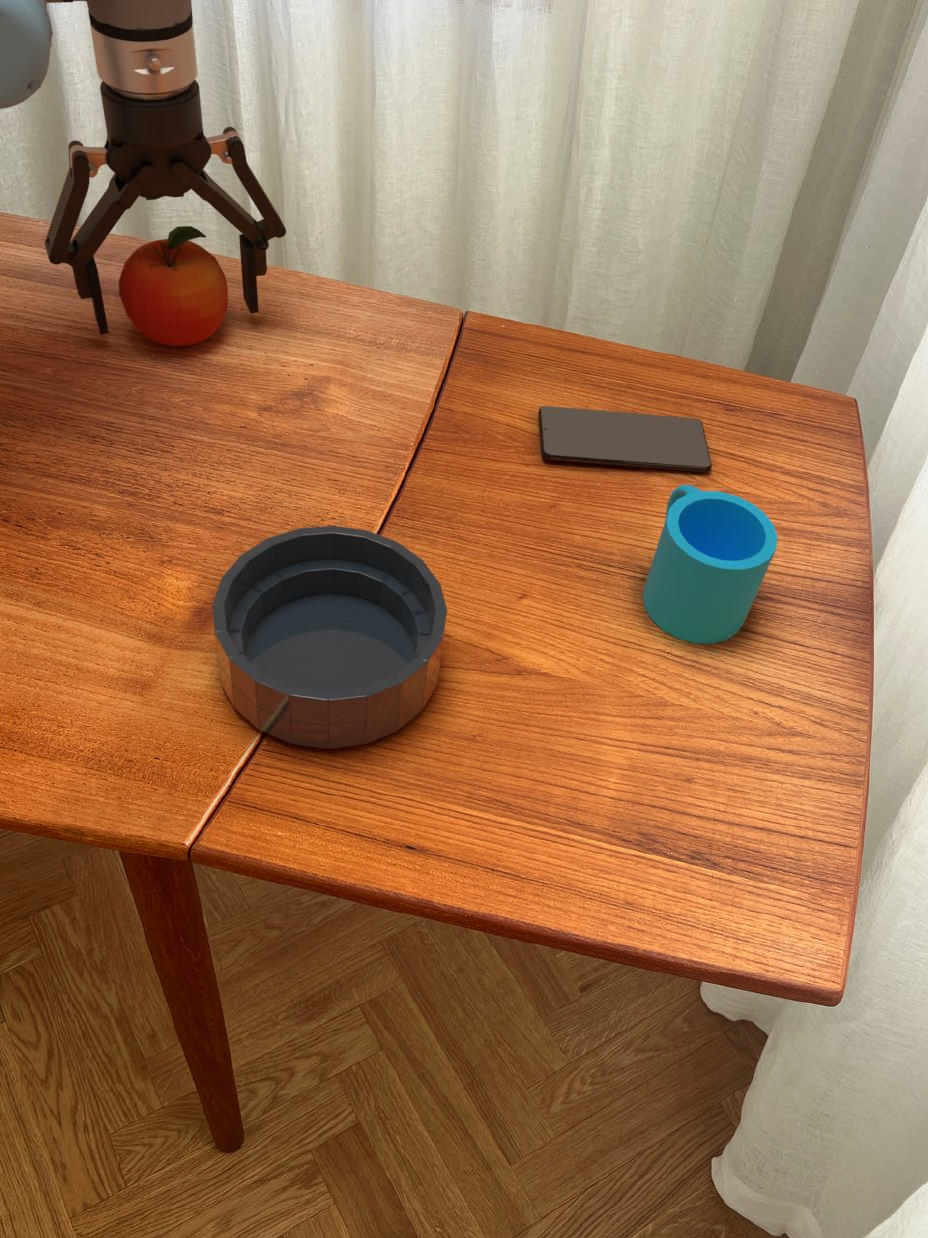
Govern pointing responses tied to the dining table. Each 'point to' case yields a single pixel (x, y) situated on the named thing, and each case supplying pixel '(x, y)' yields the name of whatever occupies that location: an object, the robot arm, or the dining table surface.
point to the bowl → (329, 636)
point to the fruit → (174, 289)
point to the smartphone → (623, 439)
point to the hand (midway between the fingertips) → (178, 315)
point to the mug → (708, 565)
